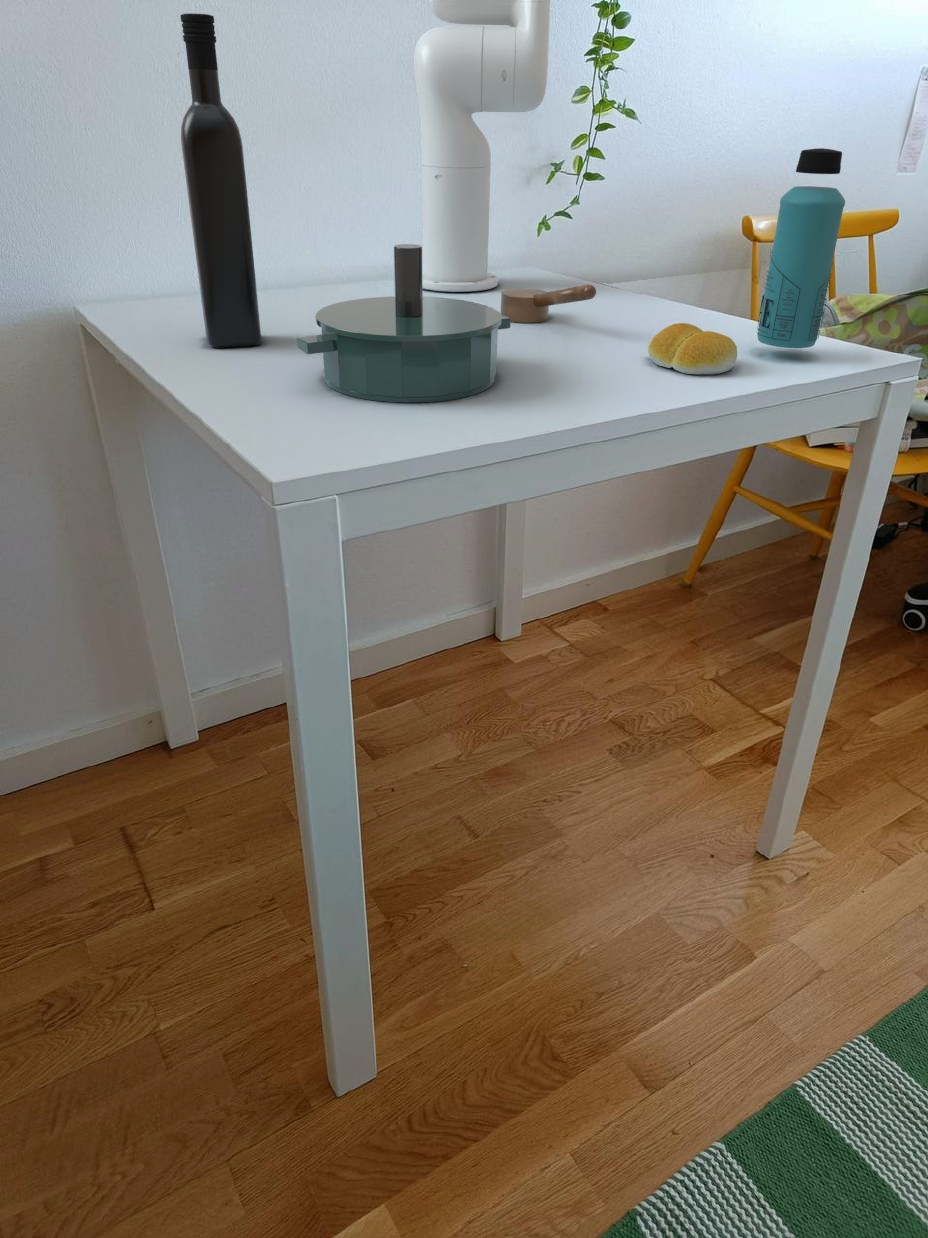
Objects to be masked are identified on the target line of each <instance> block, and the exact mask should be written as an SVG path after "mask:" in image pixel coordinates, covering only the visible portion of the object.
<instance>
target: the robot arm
mask: <svg viewBox="0 0 928 1238" xmlns="http://www.w3.org/2000/svg"><path fill="white" fill-rule="evenodd" d="M428 4H429V7H430V9H431V12H432V13H433V15H434V16H435V17H436V18H437V19H438V20H440V21H442V22H445V23H448V24H451V25H441V26H436V27H433V28H431V29H429V30H426V31H425V32H424V33H423V34H422V35H421V36H420V37H419V39H418V40H417V41H416V45H415V46H414V47H415V48H414V51H413V69H414V77H415V78H414V79H415V87H416V93H417V94H416V95H417V101H418V111H419V122H420V143H421V145H420V148H421V149H420V150H421V244H422V245H421V246H422V282H423V290H427V291H434V292H435V291H436V292H449V293H450V292H453V293H466V292H480V291H486V290H487V291H488V290H491V289H495V288H496V287H497V286H498V284H499V277H498V276H497V275H496V274H493V273H491V272H488V269H489V268H488V267H489V234H490V233H489V232H490V231H489V229H490V198H491V195H490V194H491V163H492V161H491V159H492V157H491V156H492V155H491V147H490V144H489V142H488V139H487V138H486V136H485V134H484V132H483V131H482V130H481V129H480V127H479V126H478V125H477V123H476V122H475V121H474V119H473V114H476V113H527V112H532V111H534V110H536V109H537V108H539V106H540V105H541V104H542V103H543V100H544V97H545V95H546V91H547V90H546V89H547V85H548V74H549V51H550V50H549V45H550V20H551V19H550V18H551V13H550V12H551V0H428ZM452 24H454V25H452Z"/></svg>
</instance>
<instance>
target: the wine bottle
mask: <svg viewBox="0 0 928 1238" xmlns="http://www.w3.org/2000/svg"><path fill="white" fill-rule="evenodd" d="M180 22H181V27H182V34H183V35H182V40H183V42H184V43H185V52H186V61H187V69H188V75H189V84H190V93H191V105H190V106H189V107H188V109H187V111H186V112H185V114H184V116H183V118H182V123H181V125H180V143H181V153H182V159H183V168H184V175H185V182H186V191H187V198H188V208H189V213H190V214H189V215H190V221H191V230H192V238H193V245H194V253H195V261H196V269H197V277H198V284H199V292H200V299H201V307H202V315H203V322H204V323H203V325H204V331H205V336H206V339H207V340H206V341H207V344H208V345H209V346H210V347H212V348H215V349H224V348H239V347H240V348H241V347H255V346H258V345H260V344H261V343H262V331H261V321H260V310H259V301H258V290H257V289H258V288H257V280H256V269H255V259H254V249H253V248H254V247H253V240H252V239H253V238H252V228H251V219H250V208H249V197H248V188H247V177H246V168H245V167H246V166H245V156H244V146H243V140H242V135H241V131H240V128H239V125H238V123H237V122H236V120H235V118H234V117H233V115H232V114H231V113H230V111H229V110H228V109H227V108H226V107H225V106H224V104H223V103H222V102H223V101H222V99H221V97H222V96H221V87H220V78H219V70H218V69H219V68H218V59H217V51H216V43H217V36H215V35H216V30H215V25H214V24H215V17H214V15H212V14H207V13H182V14H180Z"/></svg>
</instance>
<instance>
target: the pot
mask: <svg viewBox="0 0 928 1238" xmlns="http://www.w3.org/2000/svg"><path fill="white" fill-rule="evenodd" d="M510 321H511V318H508V317H506V316H503V315H502V323H501V325H500V326H499V327H498V328H496V329H494V330H492V331H490V332H487V333H484V334H481V335H477V336H472V337H467V338H460V339H452V340H442V341H424V342H397V341H379V340H368V339H360V338H354V337H348V336H343V335H339V334H336V333H332V332H329V331H327V330H324V329H322V328H321V327H320V333H321V334H318V335H309V336H301V337H297V338H296V342H297V350H299V351H301V352H303V353H305V354H307V355H314V354H321V353H322V364H323V365H322V366H323V374H324V375H323V376H324V382H325V384H326V385H327V386H328V387H329V388H330V389H332V390H334V391H336V392H338V393H340V394H343V395H346V396H348V397H349V396H350V397H353V398H356V399H363V400H369V401H376V402H384V403H401V404H402V403H403V404H404V403H406V404H408V403H411V404H412V403H413V404H415V403H435V402H445V401H450V400H451V401H453V400H457V399H462V398H466V397H467V398H468V397H470V396H471V397H472V396H473V395H476V394H479V393H482V392H484V391H486V390H488V389H490V387H492V386H493V384H494V383H495V377H496V375H497V367H498V365H497V362H498V334H499V330H507V329H510V328H511V322H510Z"/></svg>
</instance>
